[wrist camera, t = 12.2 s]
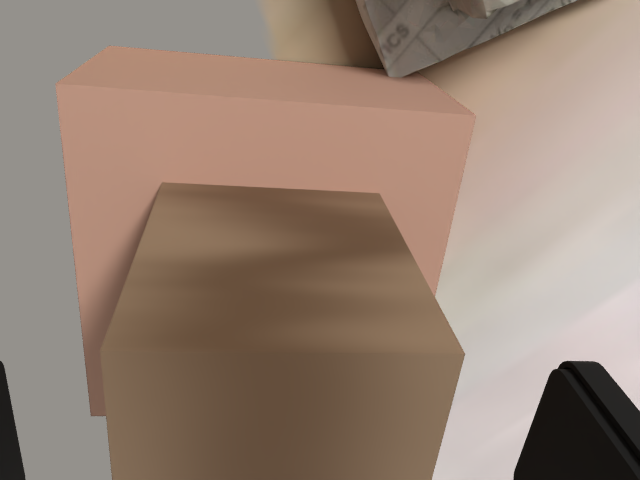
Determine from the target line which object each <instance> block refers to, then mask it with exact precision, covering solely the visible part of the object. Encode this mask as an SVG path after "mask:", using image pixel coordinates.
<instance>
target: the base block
mask: <svg viewBox="0 0 640 480" xmlns="http://www.w3.org/2000/svg"><path fill="white" fill-rule="evenodd" d="M56 93H57V102H58V111H59V121H60V131H61V140H62V149H63V158H64V168H65V177H66V186H67V196H68V206H69V214H70V224H71V234H72V243H73V252H74V262H75V271H76V280H77V289H78V299H79V308H80V318H81V327H82V336H83V346H84V356H85V365H86V374H87V384H88V393H89V402H90V412H91V416H106V409H105V398H104V388H103V377H102V366H101V356H100V350H101V347H102V344H103V342H104V339H105V336H106V334H107V331H108V328H109V325H110V323H111V320H112V317H113V314H114V312H115V309H116V306H117V304H118V301H119V298H120V295H121V293H122V290H123V287H124V285H125V282H126V279H127V276H128V274H129V271H130V268H131V266H132V263H133V260H134V257H135V255H136V252H137V249H138V246H139V244H140V241H141V238H142V236H143V233H144V230H145V227H146V225H147V222H148V219H149V217H150V214H151V211H152V208H153V206H154V203H155V200H156V197H157V195H158V192H159V189H160V187H161V184H162V182H166V183H186V184H206V185H226V186H246V187H266V188H286V189H306V190H326V191H346V192H366V193H380V195H381V197H382V199H383V201H384V203H385V205H386V207H387V208H388V210H389V212H390V214H391V216H392V218H393V220H394V222H395V224H396V225H397V227H398V229H399V231H400V233H401V235H402V237H403V239H404V240H405V242H406V244H407V246H408V248H409V250H410V252H411V254H412V255H413V257H414V259H415V261H416V263H417V265H418V267H419V269H420V270H421V272H422V274H423V276H424V278H425V280H426V282H427V284H428V285H429V287H430V289H431V291H432V293H433V295H434V297H435V294H436V290H437V285H438V281H439V277H440V272H441V268H442V264H443V259H444V255H445V250H446V246H447V242H448V237H449V233H450V229H451V224H452V220H453V215H454V211H455V207H456V202H457V198H458V193H459V189H460V185H461V180H462V176H463V172H464V167H465V163H466V158H467V154H468V150H469V145H470V141H471V136H472V132H473V128H474V123H475V119H476V115H475V114H474V113H472V112H471V111H470V110H468V109H467V108H465V107H464V106H463V105H461V104H460V103H459V102H457V101H456V100H455V99H453V98H452V97H451V96H449V95H448V94H447V93H445V92H444V91H442V90H441V89H440V88H438V87H437V86H436V85H434V84H433V83H432V82H430V81H429V80H428V79H426V78H425V77H423V76H422V75H421V74H419V73H418V72H413V73H411V74H408V75H406V76H403V77H389V76H388V75H387V73H386V71H385V69H373V68H362V67H350V66H338V65H327V64H315V63H304V62H292V61H280V60H269V59H257V58H245V57H234V56H221V55H210V54H198V53H187V52H175V51H163V50H152V49H141V48H129V47H117V46H108V47H107V48H105V49H104V50H102V51H101V52H100V53H98V54H97V55H95V56H94V57H93V58H91V59H90V60H88V61H87V62H86V63H84V64H83V65H81V66H80V67H78V68H77V69H76V70H74V71H73V72H71V73H70V74H69V75H67V76H66V77H64V78H63V79H62V80H60V81H59V82H57V83H56Z"/></svg>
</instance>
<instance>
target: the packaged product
mask: <svg viewBox="0 0 640 480" xmlns="http://www.w3.org/2000/svg"><path fill="white" fill-rule="evenodd" d="M575 1H577V0H356V3H357V6H358V9H359V12H360V15H361V18H362V21H363V23H364V25H365V27H366V29H367V31H368V34H369V36H370V38H371V40H372V42H373V45H374V47H375V49H376V51H377V53H378V55H379V58H380V60H381V62H382V64H383V66H384V69H385V71H386V73H387V75H388V76H389V77H403V76H406V75H408V74H411V73H413V72H416V71H418V70H421V69H423V68H425V67H428V66H430V65H433V64H435V63H438V62H440V61H442V60H444V59H446V58H448V57H450V56H452V55H454V54H456V53H458V52H460V51H462V50H465V49H468V48H470V47H473V46H476V45H478V44H481V43H483V42H485V41H488V40H490V39H492V38H494V37H496V36H499V35H501V34H503V33H505V32H508V31H510V30H512V29H514V28H516V27H518V26H521V25H523V24H525V23H527V22H529V21H532V20H534V19H536V18H538V17H540V16H542V15H545V14H547V13H549V12H551V11H554V10H556V9H558V8H561V7H563V6H565V5H568V4H570V3H572V2H575Z"/></svg>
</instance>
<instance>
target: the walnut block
mask: <svg viewBox="0 0 640 480" xmlns="http://www.w3.org/2000/svg"><path fill="white" fill-rule="evenodd" d="M100 356H101V366H102V377H103V388H104V398H105V409H106V419H107V430H108V440H109V451H110V461H111V471H112V480H432V476H433V472H434V468H435V465H436V461H437V457H438V453H439V450H440V446H441V442H442V438H443V435H444V431H445V427H446V423H447V420H448V416H449V412H450V409H451V405H452V401H453V397H454V394H455V390H456V386H457V382H458V379H459V375H460V371H461V367H462V364H463V360H464V356H465V353H464V351H463V349H462V347H461V345H460V344H459V342H458V340H457V338H456V336H455V334H454V332H453V330H452V329H451V327H450V325H449V323H448V321H447V319H446V317H445V315H444V314H443V312H442V310H441V308H440V306H439V304H438V302H437V300H436V299H435V297H434V295H433V293H432V291H431V289H430V287H429V285H428V284H427V282H426V280H425V278H424V276H423V274H422V272H421V270H420V269H419V267H418V265H417V263H416V261H415V259H414V257H413V255H412V254H411V252H410V250H409V248H408V246H407V244H406V242H405V240H404V239H403V237H402V235H401V233H400V231H399V229H398V227H397V225H396V224H395V222H394V220H393V218H392V216H391V214H390V212H389V210H388V208H387V207H386V205H385V203H384V201H383V199H382V197H381V195H380V193H366V192H346V191H326V190H306V189H286V188H266V187H246V186H226V185H206V184H186V183H166V182H162V184H161V187H160V189H159V192H158V195H157V197H156V200H155V203H154V206H153V208H152V211H151V214H150V217H149V219H148V222H147V225H146V227H145V230H144V233H143V236H142V238H141V241H140V244H139V246H138V249H137V252H136V255H135V257H134V260H133V263H132V266H131V268H130V271H129V274H128V276H127V279H126V282H125V285H124V287H123V290H122V293H121V295H120V298H119V301H118V304H117V306H116V309H115V312H114V314H113V317H112V320H111V323H110V325H109V328H108V331H107V334H106V336H105V339H104V342H103V344H102V347H101V350H100Z"/></svg>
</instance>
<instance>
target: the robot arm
mask: <svg viewBox="0 0 640 480" xmlns="http://www.w3.org/2000/svg"><path fill="white" fill-rule="evenodd" d="M0 480H25V473H24V468H23V463H22V457H21V452H20V447H19V442H18V437H17V431H16V426H15V421H14V415H13V410H12V405H11V400H10V395H9V389H8V384H7V379H6V374H5V369H4V365H3V363H2V362H1V361H0ZM514 480H640V411H639V410H638V409H637V407H636V406H635V405H634V404H633V403H632V401H631V400H630V399H629V398H628V396H627V395H626V394H625V393H624V392H623V390H622V389H621V388H620V387H619V386H618V384H617V383H616V382H615V381H614V379H613V378H612V377H611V376H610V375H609V373H608V372H607V371H606V370H605V369H604V367H603V366H602V365H600V364H599V363H597V362H593V361H565V362H562V363H561V364H560V365H559V367H558V369H554V370H553V371H552V372H551V373H550V375H549V378H548V381H547V384H546V386H545V389H544V392H543V394H542V397H541V400H540V403H539V405H538V408H537V411H536V414H535V416H534V419H533V422H532V424H531V427H530V430H529V433H528V435H527V438H526V441H525V444H524V446H523V449H522V452H521V454H520V457H519V460H518V463H517V465H516V468H515V471H514Z"/></svg>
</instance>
